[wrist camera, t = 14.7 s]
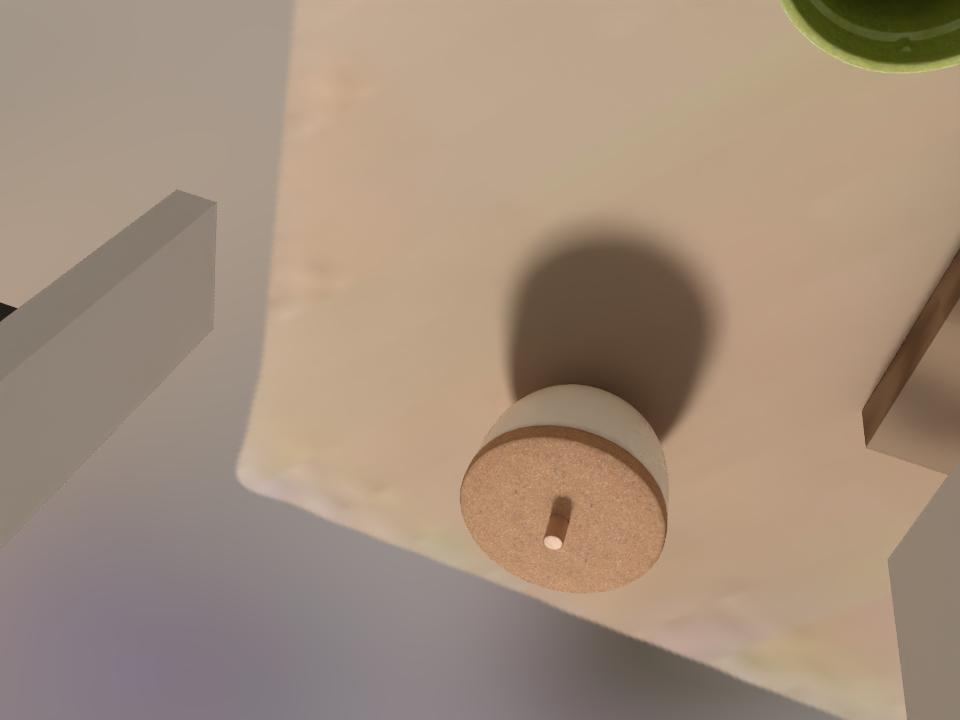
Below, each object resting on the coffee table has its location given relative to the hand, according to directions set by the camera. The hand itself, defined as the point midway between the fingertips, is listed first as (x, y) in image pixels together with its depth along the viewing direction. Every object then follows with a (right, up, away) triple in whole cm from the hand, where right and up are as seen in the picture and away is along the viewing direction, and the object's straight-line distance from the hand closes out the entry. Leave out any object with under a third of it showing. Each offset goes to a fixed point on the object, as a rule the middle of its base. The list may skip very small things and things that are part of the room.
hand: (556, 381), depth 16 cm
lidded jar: (+5, -3, +37) cm, 38 cm away
